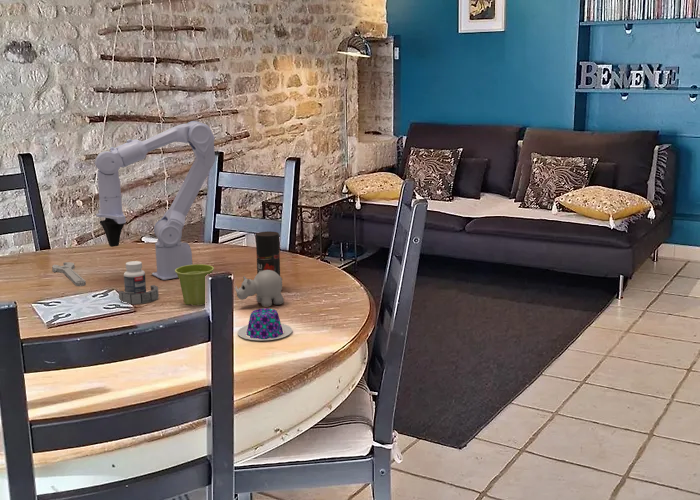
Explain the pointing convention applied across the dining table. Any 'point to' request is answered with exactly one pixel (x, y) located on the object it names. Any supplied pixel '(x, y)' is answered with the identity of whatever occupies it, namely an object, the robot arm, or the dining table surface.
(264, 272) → the toy rhinoceros
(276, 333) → the pudding
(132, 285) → the pill bottle
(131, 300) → the collar
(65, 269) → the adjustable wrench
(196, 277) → the plant pot
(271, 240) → the deodorant
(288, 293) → the dining table surface
